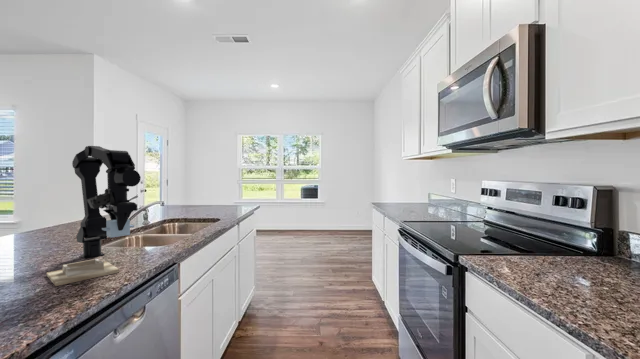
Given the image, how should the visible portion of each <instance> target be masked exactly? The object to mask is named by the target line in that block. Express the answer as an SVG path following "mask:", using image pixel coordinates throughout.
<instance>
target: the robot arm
mask: <svg viewBox="0 0 640 359" xmlns="http://www.w3.org/2000/svg"><path fill="white" fill-rule="evenodd" d="M71 164H72V165H71V166H72V168H73V170H74V173H75V175H76V176H77V177H78V178H79V179H80V182H81V192H82V200H83V210H84V217H83V219H82V221H81V222H80V228H79V230H78V232H77V234H76V237H75V238H76V242H78V243H81V244H82V249H83V250H82V251H83V252H82V254H80V257H81V258H82V259H84V260H85V259H92V258H97V257H103V256H105V253H104V252H102V240H107V239H108V236H107V231H104V230H102V228H106V221H107V218H106V216H103V215H102V214H101V212H100V211H101V210H102V211H103V212H105V213H107V214H108V216H109V217H110V220H117V226H118V230H119V231H120V230H123V228H124V226H125V224H126V222H127V220H128V219H129V218H130V216H131V214H132V213H133V212H134V211H138V204H137V203H136V202H134V201H130V199H128V192H129V191H130V188H128V187H135V186H137V185H138V184H139V183H141V182H140V181H141V176H140V173H139V172H138V171H137V170H135V169H136V167H135V166H136V164H135V163H134V161H133V159H132V156H131V154H130V153H129V151H127V150H117V149H113V150H111V149H107V148H106V147H105V148H104V147H102V146H99V145H98V146H97V145H87V146H85V148H84V149H83V150H81V151H79V152H78V153H76V154H75V156H74V157H73V159H72V163H71ZM103 165H104V166H105V167H106V170H105V173H106V174H107V178H106V179H107V180H106V181H107V188H105V190H104V193H102V194H101V193H100V194H98V187H97V186H98V185H97V177H98V175H99V173H100V171H101V167H102V166H103ZM100 209H101V210H100Z"/></svg>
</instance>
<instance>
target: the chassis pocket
mask: <svg viewBox="0 0 640 359" xmlns="http://www.w3.org/2000/svg"><path fill="white" fill-rule="evenodd" d="M116 273H120V269H119V268H118V267H116V266H115V265H113V264H111V263H110V262H108V261H107V260H105V261H102V260H100V259H98V258H93V259H92V258H91V259H89V260H88V259H87V260H83V261H77V262H72V263H71V262H70V263H65V264H62V269H58V270H57V269H56V270H52V271H48V272H46V277H47V278H48V279H49V280H50V281H51V283H53V285H54V287H58V286H62V285H63V286H64V285H67V284H72V283H77V282H82V281H86V280H90V279H95V278H99V277H104V276H108V275H113V274H116Z"/></svg>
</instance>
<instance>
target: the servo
mask: <svg viewBox="0 0 640 359" xmlns="http://www.w3.org/2000/svg"><path fill="white" fill-rule="evenodd" d="M131 228H135V225H133V224H131V219H129V218H128V220H127V222H126V224H125V226H124V228H123V230H120V231H119V230H118V226H117V220H111V219H109V220H107V219H106V228H102V230H104V231H107V238H117V237H118V238H119V237H124V236H130V235H131Z"/></svg>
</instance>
